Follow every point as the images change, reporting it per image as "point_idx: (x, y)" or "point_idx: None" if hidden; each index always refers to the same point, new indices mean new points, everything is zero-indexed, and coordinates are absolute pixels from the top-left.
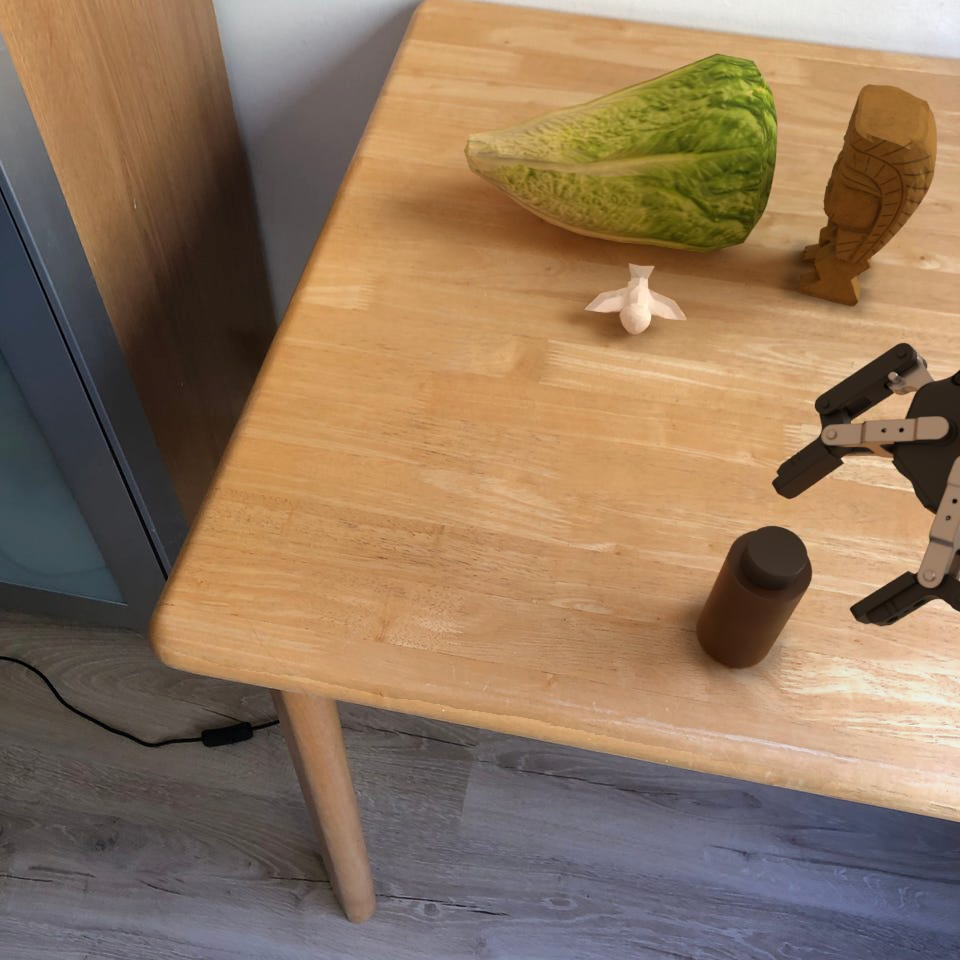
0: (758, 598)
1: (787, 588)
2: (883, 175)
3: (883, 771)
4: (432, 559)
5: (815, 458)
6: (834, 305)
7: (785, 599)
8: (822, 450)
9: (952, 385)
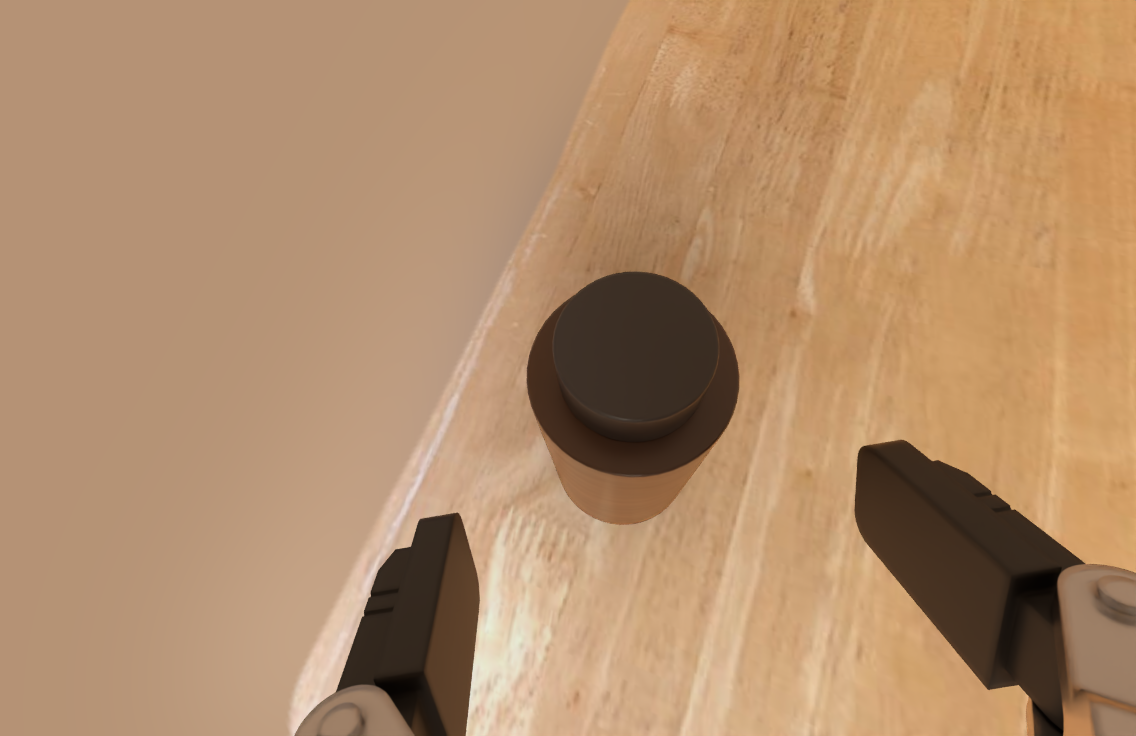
0: (546, 320)
1: (558, 389)
2: None
3: (333, 634)
4: (787, 83)
5: (985, 533)
6: None
7: (530, 375)
8: (1027, 560)
9: None
